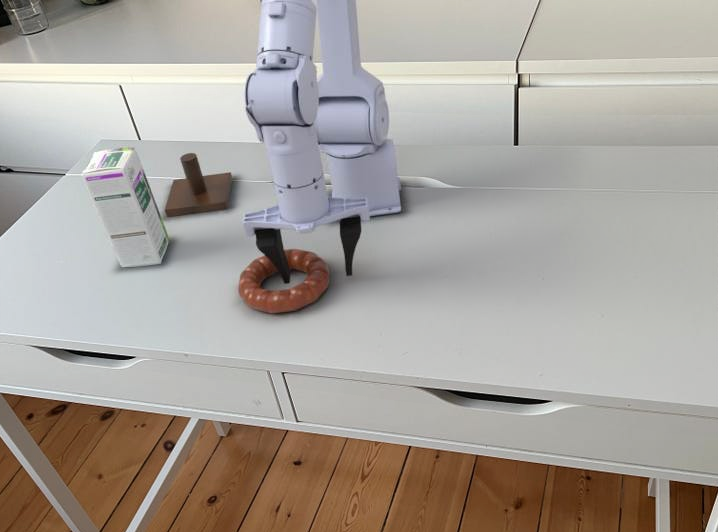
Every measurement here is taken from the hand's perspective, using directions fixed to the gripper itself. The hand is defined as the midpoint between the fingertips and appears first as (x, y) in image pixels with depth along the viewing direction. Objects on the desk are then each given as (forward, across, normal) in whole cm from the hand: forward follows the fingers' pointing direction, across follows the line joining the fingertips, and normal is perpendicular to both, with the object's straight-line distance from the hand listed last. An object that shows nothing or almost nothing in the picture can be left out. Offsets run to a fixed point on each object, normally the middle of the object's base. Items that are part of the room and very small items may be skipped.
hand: (318, 275), depth 95 cm
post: (+1, -18, +26) cm, 32 cm away
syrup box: (+2, -24, +12) cm, 27 cm away
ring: (0, -4, 0) cm, 4 cm away
